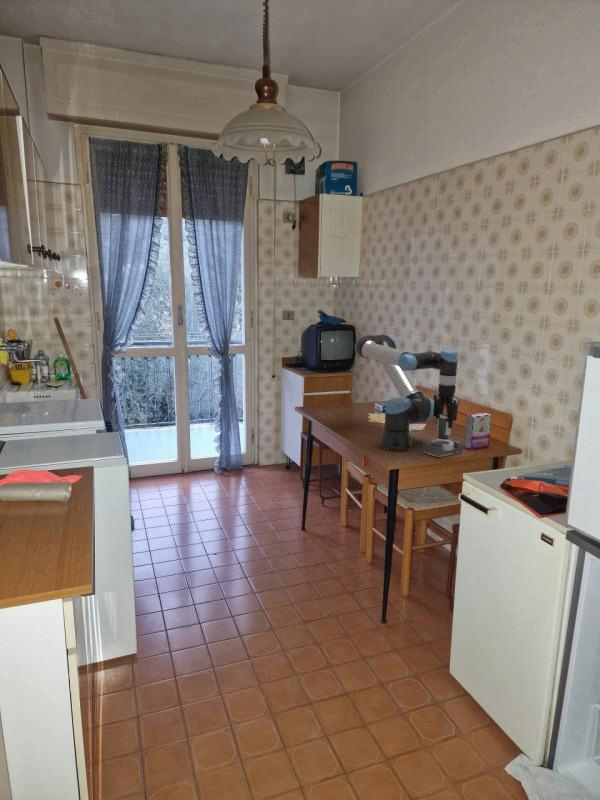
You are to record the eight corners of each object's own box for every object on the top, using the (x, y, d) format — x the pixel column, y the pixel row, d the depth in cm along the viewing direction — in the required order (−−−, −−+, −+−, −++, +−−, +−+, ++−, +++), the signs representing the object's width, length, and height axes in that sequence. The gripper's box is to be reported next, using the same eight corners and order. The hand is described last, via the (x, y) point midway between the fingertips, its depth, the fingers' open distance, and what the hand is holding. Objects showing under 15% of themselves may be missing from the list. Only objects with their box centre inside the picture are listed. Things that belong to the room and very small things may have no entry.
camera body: (437, 458, 244) (438, 445, 243) (421, 452, 252) (422, 440, 251) (462, 452, 253) (463, 440, 251) (445, 447, 261) (446, 435, 260)
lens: (443, 440, 248) (445, 415, 245) (435, 437, 252) (437, 413, 249) (450, 438, 250) (452, 414, 248) (443, 436, 254) (444, 412, 252)
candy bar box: (481, 444, 266) (484, 412, 262) (489, 447, 261) (492, 414, 258) (463, 446, 262) (466, 414, 258) (470, 449, 257) (473, 416, 253)
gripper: (468, 386, 240) (464, 436, 245) (438, 380, 254) (435, 427, 260) (456, 388, 236) (452, 439, 241) (427, 381, 250) (424, 429, 256)
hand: (443, 433), depth 250 cm, fingers closed on lens, 5 cm apart
